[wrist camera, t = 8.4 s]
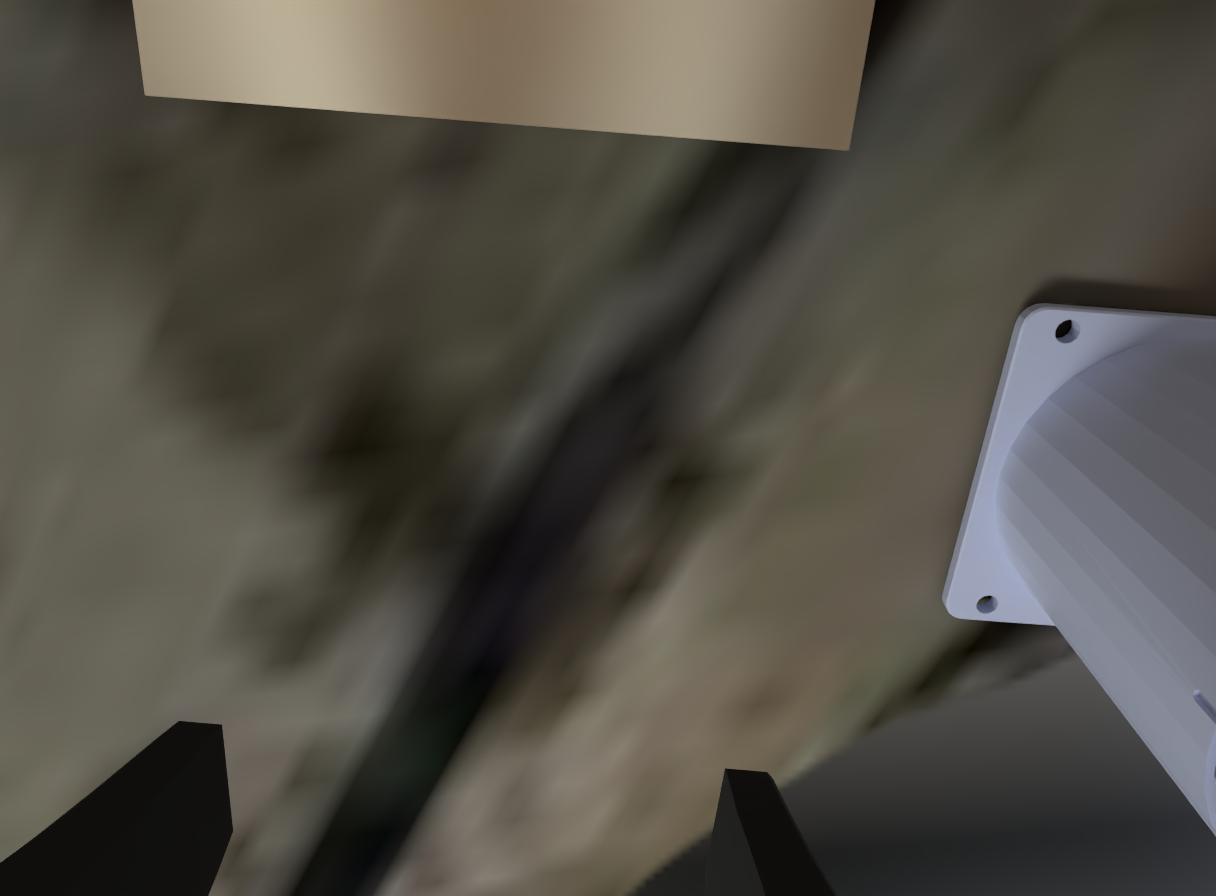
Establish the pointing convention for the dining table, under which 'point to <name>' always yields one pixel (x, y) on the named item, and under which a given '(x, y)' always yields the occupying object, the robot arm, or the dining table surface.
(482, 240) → the dining table surface
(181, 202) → the dining table surface
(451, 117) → the birch base
